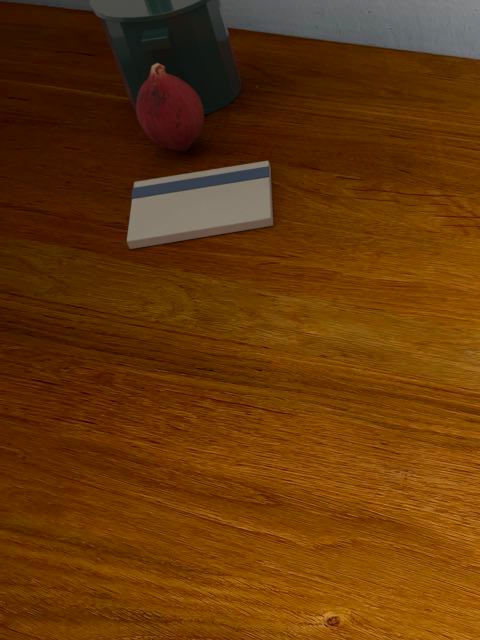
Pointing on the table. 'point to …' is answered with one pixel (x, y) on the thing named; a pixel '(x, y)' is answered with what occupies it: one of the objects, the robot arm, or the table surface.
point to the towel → (200, 204)
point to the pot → (179, 53)
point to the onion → (169, 110)
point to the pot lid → (142, 9)
